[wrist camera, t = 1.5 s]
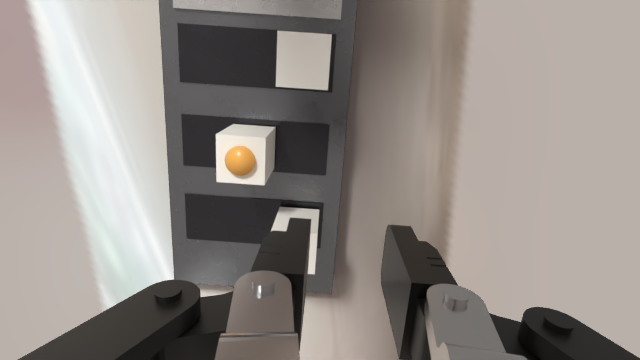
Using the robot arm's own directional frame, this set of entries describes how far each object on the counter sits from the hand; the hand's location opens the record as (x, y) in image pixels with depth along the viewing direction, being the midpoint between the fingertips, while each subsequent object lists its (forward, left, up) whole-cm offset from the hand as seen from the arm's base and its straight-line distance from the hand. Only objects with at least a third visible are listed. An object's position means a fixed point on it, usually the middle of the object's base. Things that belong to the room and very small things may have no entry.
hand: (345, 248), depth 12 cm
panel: (0, -6, -17) cm, 18 cm away
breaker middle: (0, -6, -15) cm, 16 cm away
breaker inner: (-6, -3, -15) cm, 16 cm away
